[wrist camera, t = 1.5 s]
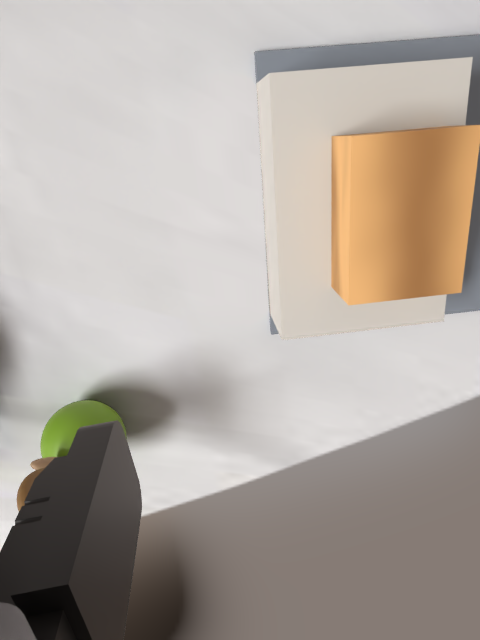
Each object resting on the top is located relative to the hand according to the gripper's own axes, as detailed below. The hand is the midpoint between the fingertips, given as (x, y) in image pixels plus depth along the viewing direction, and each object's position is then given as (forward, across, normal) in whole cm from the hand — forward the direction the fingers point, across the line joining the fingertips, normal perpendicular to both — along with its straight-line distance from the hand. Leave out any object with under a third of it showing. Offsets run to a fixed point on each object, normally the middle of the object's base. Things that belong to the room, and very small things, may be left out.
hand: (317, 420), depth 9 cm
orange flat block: (+16, -8, -1) cm, 18 cm away
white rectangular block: (+20, -7, -1) cm, 22 cm away
